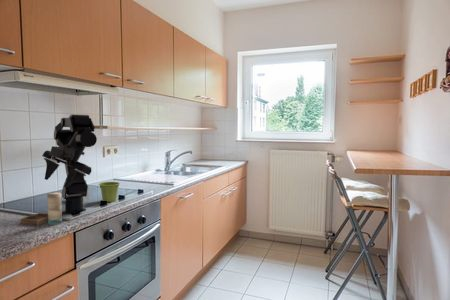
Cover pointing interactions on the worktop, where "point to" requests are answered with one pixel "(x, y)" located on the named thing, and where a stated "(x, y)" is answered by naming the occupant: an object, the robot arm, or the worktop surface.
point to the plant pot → (109, 191)
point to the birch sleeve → (54, 208)
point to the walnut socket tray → (35, 219)
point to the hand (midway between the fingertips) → (55, 183)
